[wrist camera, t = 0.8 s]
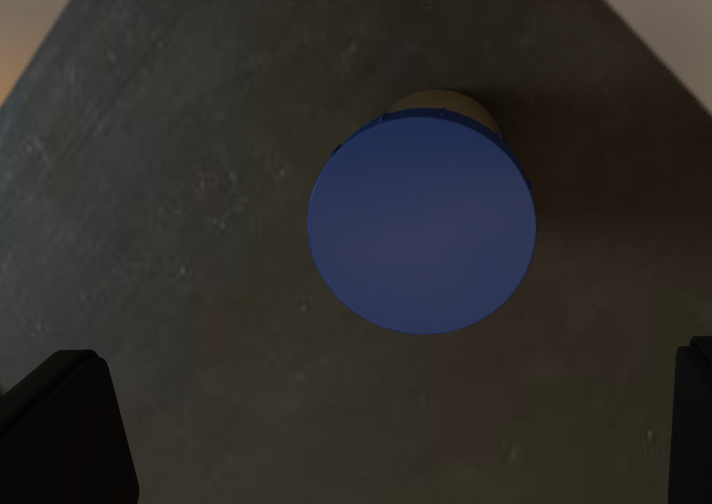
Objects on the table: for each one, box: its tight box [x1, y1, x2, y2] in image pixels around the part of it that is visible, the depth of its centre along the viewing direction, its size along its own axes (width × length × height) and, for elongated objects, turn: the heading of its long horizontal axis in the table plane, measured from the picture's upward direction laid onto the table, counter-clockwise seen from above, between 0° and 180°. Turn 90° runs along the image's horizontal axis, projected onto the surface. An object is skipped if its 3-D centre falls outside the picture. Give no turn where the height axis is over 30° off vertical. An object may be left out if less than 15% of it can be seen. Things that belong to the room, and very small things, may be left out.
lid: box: [307, 107, 537, 335], centre depth 21 cm, size 7×7×2 cm
